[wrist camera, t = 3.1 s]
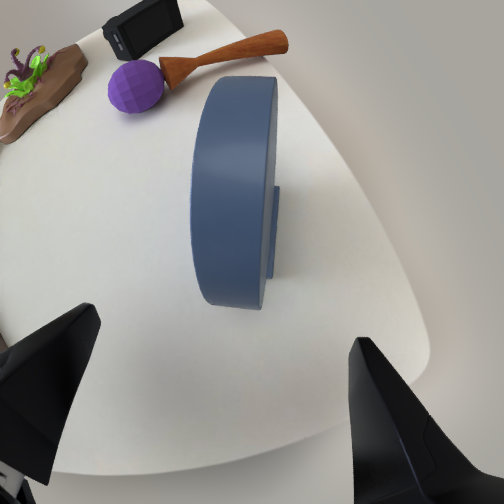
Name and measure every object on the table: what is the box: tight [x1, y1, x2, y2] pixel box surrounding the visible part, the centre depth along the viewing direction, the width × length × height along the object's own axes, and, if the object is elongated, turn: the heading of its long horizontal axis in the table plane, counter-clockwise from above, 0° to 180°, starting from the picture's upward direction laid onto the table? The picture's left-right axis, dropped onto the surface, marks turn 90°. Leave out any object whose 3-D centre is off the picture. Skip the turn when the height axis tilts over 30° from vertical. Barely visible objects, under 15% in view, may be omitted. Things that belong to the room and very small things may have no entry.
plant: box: [0, 44, 87, 144], centre depth 24 cm, size 20×20×11 cm
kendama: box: [108, 30, 289, 114], centre depth 23 cm, size 6×6×20 cm
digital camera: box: [102, 0, 184, 61], centre depth 26 cm, size 10×5×7 cm, turn 145°
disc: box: [190, 76, 280, 310], centre depth 14 cm, size 12×3×13 cm, turn 174°
